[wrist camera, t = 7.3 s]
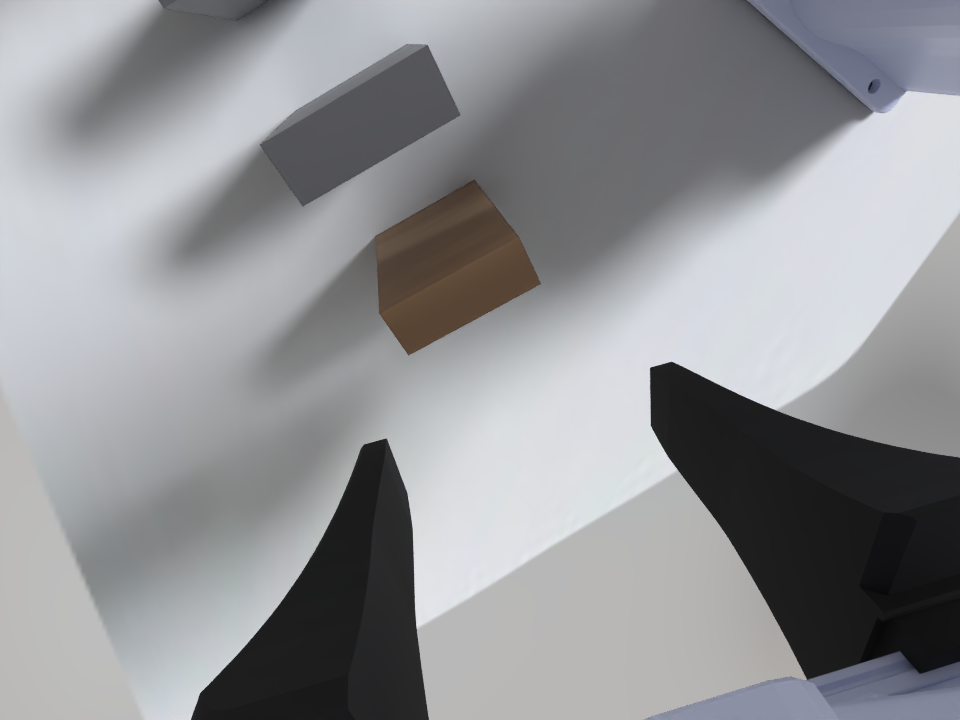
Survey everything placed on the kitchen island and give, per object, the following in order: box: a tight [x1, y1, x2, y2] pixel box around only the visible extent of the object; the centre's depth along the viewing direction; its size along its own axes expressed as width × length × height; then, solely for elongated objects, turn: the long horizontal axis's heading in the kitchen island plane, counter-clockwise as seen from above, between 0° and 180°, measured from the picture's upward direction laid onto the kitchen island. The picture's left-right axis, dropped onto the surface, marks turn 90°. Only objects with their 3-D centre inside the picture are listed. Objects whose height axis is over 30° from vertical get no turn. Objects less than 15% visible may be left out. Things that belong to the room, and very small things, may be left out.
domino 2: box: [376, 180, 541, 355], centre depth 18 cm, size 2×4×7 cm, turn 117°
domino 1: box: [260, 44, 460, 206], centre depth 15 cm, size 2×4×7 cm, turn 117°
